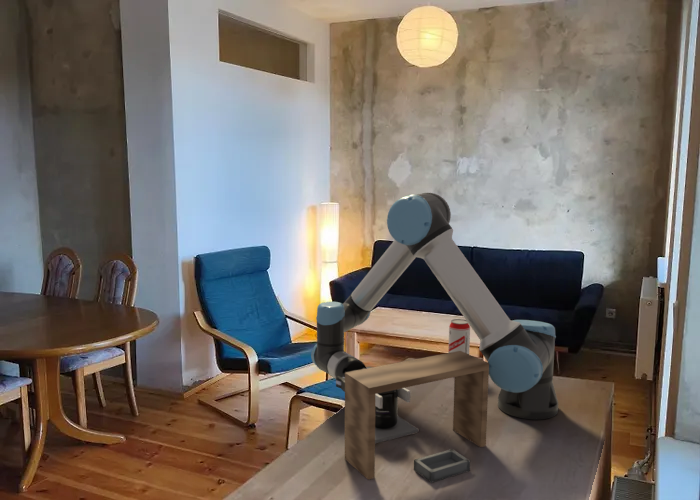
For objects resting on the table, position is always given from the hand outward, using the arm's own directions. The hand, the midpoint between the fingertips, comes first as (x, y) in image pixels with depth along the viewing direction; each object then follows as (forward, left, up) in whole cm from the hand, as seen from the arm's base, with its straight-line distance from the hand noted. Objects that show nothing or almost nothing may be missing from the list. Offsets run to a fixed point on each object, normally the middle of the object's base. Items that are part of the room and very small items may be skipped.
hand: (395, 399), depth 145 cm
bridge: (-5, +8, -9) cm, 13 cm away
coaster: (+2, -4, -9) cm, 10 cm away
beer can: (-22, -43, -9) cm, 49 cm away
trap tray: (-9, +16, -9) cm, 20 cm away
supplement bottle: (+2, -4, -8) cm, 9 cm away
